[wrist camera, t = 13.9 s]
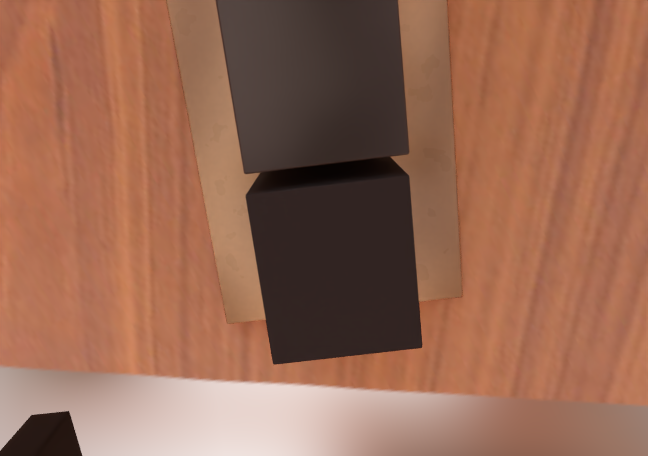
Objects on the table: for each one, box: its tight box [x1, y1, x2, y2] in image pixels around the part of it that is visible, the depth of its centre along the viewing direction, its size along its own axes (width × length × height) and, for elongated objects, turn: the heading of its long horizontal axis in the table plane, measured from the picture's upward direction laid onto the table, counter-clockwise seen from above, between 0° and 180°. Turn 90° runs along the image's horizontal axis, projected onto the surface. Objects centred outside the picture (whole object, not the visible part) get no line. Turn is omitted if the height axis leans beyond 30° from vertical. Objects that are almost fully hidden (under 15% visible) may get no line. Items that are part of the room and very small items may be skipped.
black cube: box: [245, 157, 422, 364], centre depth 22 cm, size 6×7×6 cm
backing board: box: [166, 0, 463, 324], centre depth 22 cm, size 12×16×7 cm
